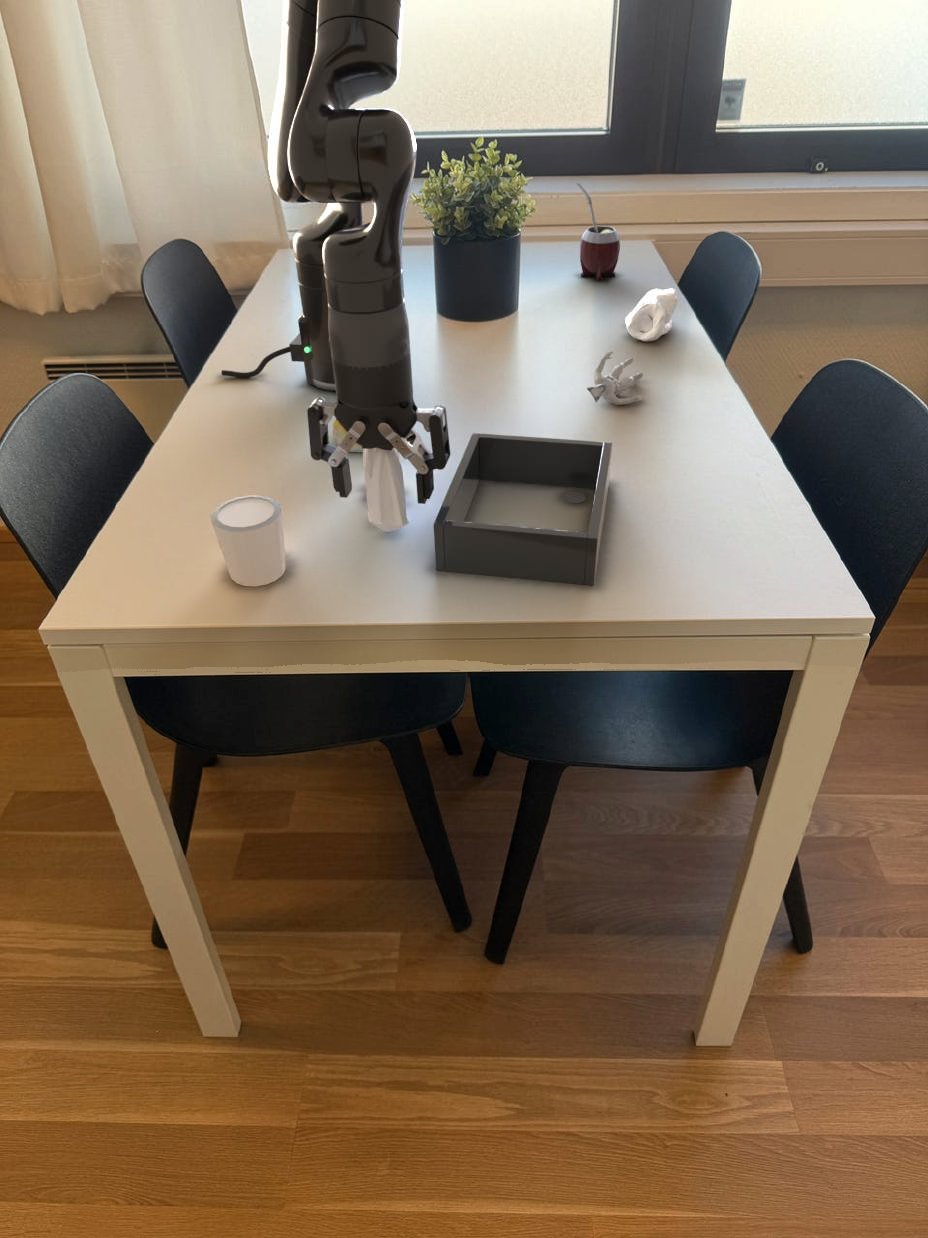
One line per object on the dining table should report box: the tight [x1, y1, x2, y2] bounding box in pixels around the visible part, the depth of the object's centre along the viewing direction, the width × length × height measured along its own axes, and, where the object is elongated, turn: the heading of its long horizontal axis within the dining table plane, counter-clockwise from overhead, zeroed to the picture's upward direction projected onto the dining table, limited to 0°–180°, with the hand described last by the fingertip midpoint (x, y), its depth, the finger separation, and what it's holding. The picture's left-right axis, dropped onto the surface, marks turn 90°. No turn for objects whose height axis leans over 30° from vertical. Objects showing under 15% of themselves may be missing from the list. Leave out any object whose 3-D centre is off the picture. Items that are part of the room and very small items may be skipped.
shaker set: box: [362, 448, 409, 533], centre depth 96 cm, size 12×4×11 cm, turn 8°
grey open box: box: [433, 432, 613, 586], centre depth 95 cm, size 16×20×6 cm
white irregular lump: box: [624, 287, 679, 343], centre depth 139 cm, size 9×12×8 cm
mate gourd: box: [576, 182, 621, 282], centre depth 158 cm, size 8×8×15 cm
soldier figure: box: [586, 350, 644, 406], centre depth 121 cm, size 8×5×12 cm
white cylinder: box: [210, 494, 287, 588], centre depth 89 cm, size 7×7×7 cm
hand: (384, 496), depth 94 cm, fingers open, 8 cm apart
